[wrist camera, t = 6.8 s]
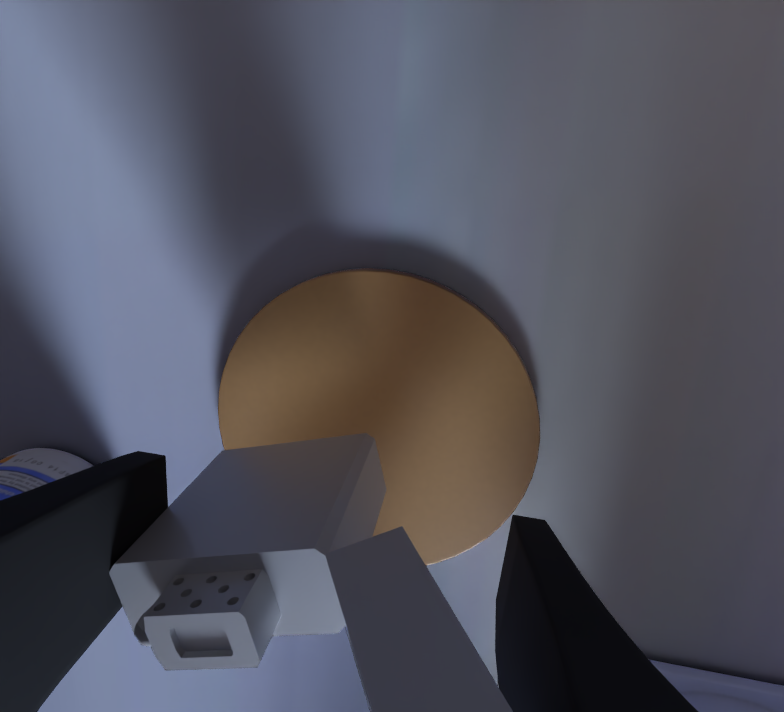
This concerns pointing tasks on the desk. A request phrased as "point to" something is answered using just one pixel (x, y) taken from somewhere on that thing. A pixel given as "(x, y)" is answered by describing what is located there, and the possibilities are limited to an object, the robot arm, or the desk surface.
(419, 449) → the coaster
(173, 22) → the desk surface
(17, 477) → the pill bottle
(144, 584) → the lighter
